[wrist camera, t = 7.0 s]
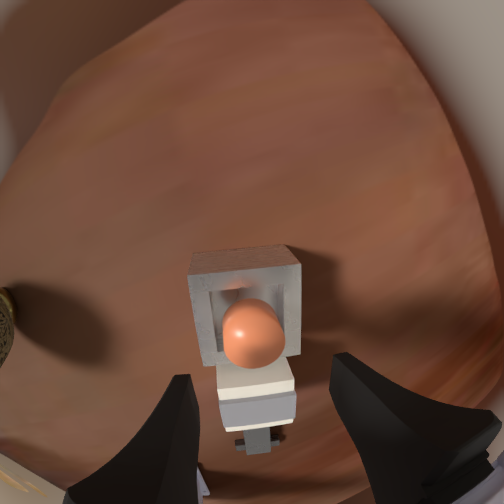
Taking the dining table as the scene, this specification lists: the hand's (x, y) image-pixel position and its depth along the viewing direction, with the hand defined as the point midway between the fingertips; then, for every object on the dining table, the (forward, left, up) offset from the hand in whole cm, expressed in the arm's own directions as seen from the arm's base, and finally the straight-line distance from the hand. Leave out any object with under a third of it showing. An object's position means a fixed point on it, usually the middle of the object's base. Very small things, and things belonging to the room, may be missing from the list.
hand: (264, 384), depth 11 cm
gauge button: (0, 0, -5) cm, 5 cm away
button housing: (0, 0, -9) cm, 9 cm away
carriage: (-6, 0, -9) cm, 11 cm away
